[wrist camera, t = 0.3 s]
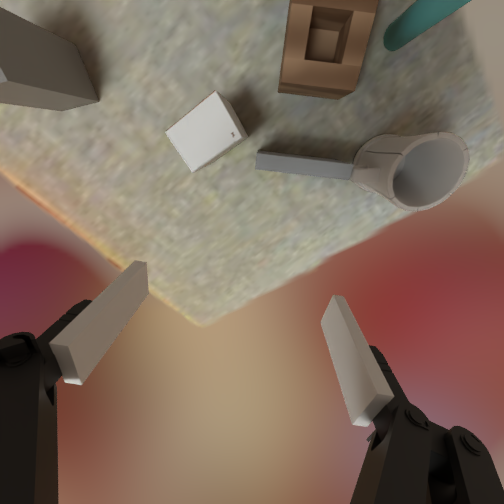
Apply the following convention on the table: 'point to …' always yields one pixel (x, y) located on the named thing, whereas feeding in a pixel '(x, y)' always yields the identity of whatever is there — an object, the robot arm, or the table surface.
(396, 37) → the dowel
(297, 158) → the wall
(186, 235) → the table surface
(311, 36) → the block
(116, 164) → the table surface
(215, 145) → the small box
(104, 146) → the table surface
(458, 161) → the cup
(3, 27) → the perfume bottle
